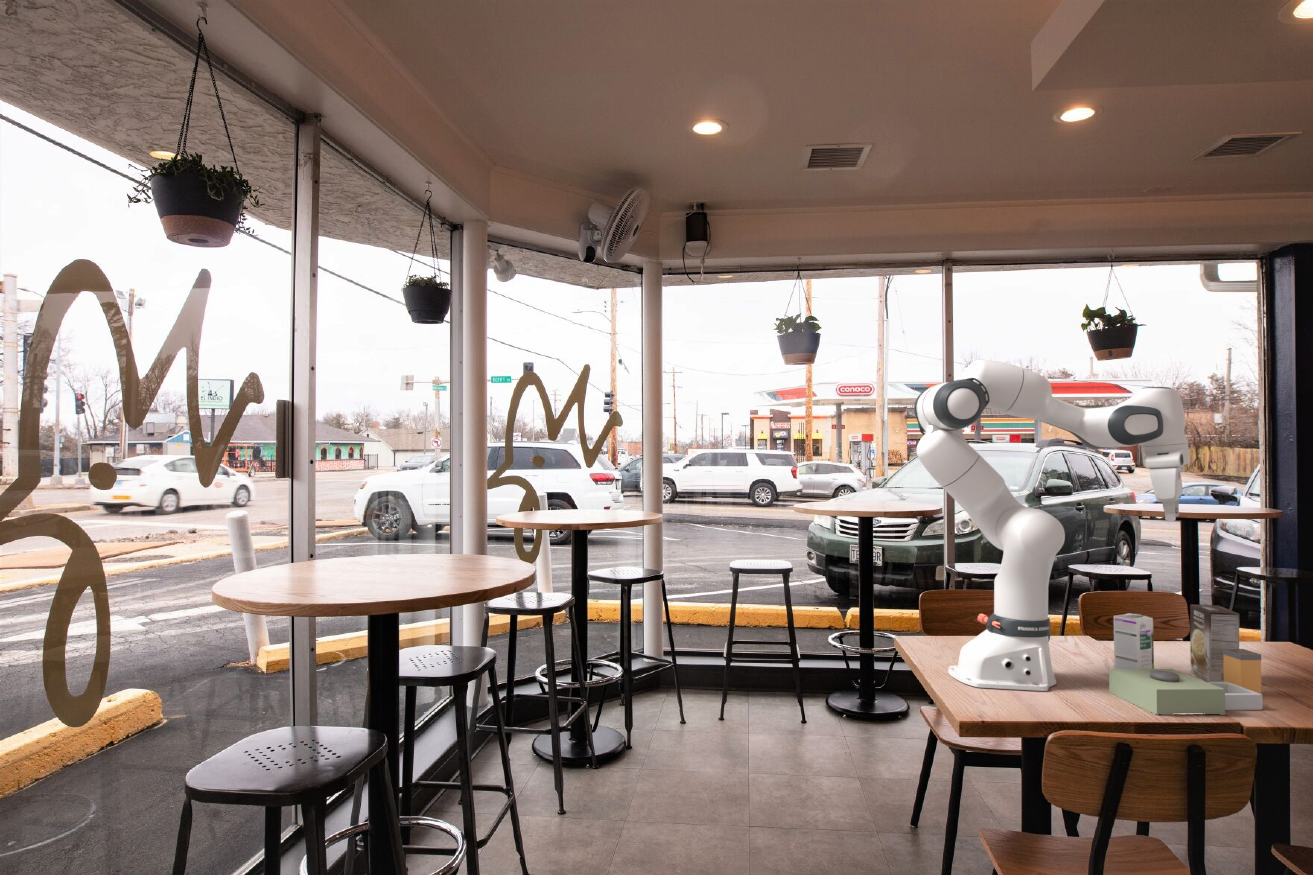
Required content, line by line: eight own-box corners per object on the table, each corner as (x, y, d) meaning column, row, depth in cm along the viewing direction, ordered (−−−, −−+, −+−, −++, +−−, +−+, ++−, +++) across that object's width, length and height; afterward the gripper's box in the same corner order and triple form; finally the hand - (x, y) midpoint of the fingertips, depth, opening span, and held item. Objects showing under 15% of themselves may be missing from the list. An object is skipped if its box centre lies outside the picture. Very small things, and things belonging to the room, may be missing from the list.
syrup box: (1140, 684, 165) (1139, 619, 165) (1113, 677, 170) (1113, 614, 171) (1154, 681, 168) (1154, 617, 168) (1128, 674, 173) (1127, 612, 173)
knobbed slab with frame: (1156, 715, 145) (1156, 684, 145) (1109, 692, 159) (1109, 664, 159) (1274, 714, 147) (1274, 683, 147) (1217, 691, 161) (1217, 664, 161)
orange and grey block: (1240, 697, 157) (1240, 654, 158) (1223, 690, 162) (1223, 648, 162) (1261, 696, 158) (1261, 654, 158) (1243, 690, 162) (1243, 648, 162)
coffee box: (1188, 671, 176) (1188, 603, 177) (1219, 673, 175) (1218, 605, 175) (1209, 683, 167) (1208, 611, 168) (1241, 685, 166) (1241, 613, 166)
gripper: (1153, 456, 178) (1160, 513, 178) (1144, 461, 162) (1151, 524, 162) (1185, 454, 174) (1192, 513, 174) (1179, 459, 158) (1186, 523, 158)
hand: (1172, 518), depth 168 cm, fingers open, 8 cm apart
